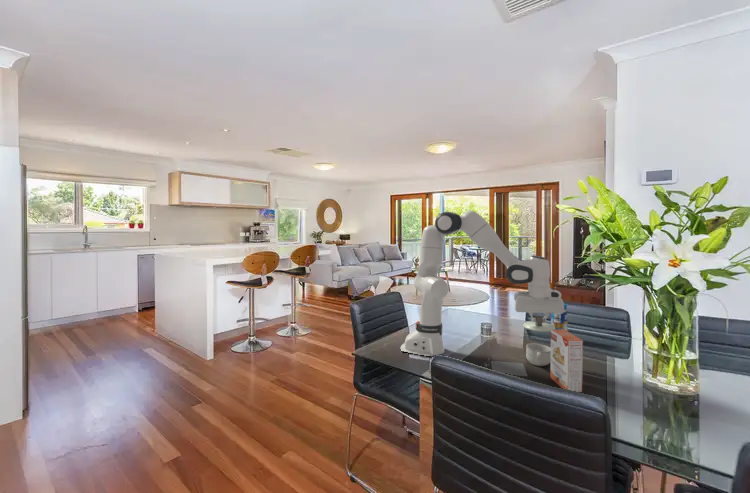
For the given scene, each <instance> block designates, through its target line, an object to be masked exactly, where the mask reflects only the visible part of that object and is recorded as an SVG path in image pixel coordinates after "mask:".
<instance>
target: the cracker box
mask: <svg viewBox="0 0 750 493" xmlns="http://www.w3.org/2000/svg"><path fill="white" fill-rule="evenodd" d="M550 348H551V361H550V368H549V369H550V378H551V380H553V382H555V383H556V384H557V385H558V386H559V387H560V388H561V389H562V388H563V389H567V390H571V391H576V392H582V393H583V364H584V362H583V361H584V356H583V354H584V352H583V351H584V340H583V339H581V338H580V337H578V336H576V335H574V334H573V333H571V332H570V331H566V330H565V329H552V330H551V331H550ZM563 389H562V390H563Z"/></svg>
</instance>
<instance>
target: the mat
mask: <svg viewBox="0 0 750 493" xmlns="http://www.w3.org/2000/svg"><path fill="white" fill-rule="evenodd" d="M490 363H491V364H490V365H491V371H492V370H496V371H500V372H503V373H507V374H510V376H520V377H528V373H527V370H526V368H525V365H524V363H521V362H512V361H511V362H508V361H499V360H498V361H497V360H490ZM507 374H506V375H507Z"/></svg>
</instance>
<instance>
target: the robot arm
mask: <svg viewBox="0 0 750 493" xmlns="http://www.w3.org/2000/svg"><path fill="white" fill-rule="evenodd" d="M460 231H461V232H463V233H464V234H465V235H466V236H467V237H468V238H469V239H470V240H471V241H472V242H473V244H475V245H476V246H477V247H479V248H480V249H482V250H486V251H489V252H491V253H492V254H494V255H495V256H496V257H497V259H498V260H500V261H501V263H503V265H504V266H505V268H506V272H505V276H506V279H507V281H509V282H510V283H511V284H513V285H522V284H527V290H528V291H517V292H515V293H514V294H513V295H514V296H513V299H514V311H515V312H516V313H528V315H529V316H530V317H531V322H536V318H535V317H533V315H534V314H536V313H537V314H544V316H543V317H542V323H547V319H548V317H549V316H550V314H552V313H555V314H563V313H564V300H563V299H562V293H561V292H560V291H559V290H558V289H557V290H556V289H553V288H551V284H550V277H551V268H550V261H549V260H548V259H547V258H546V257H544V256H540V255H530V256H528V258H525V259H520V258H518V257H517V256H515V254H514V253H513V252H512V251H511V250H510V249H509V248H508V247H506V246H505V244H504V243H503V242H502V240H501V239H500V237H499V236H498V234H497V232H496V231H495V229H494V228H493V227H492V225H491V224H490V223H489V222H488V221H487V220H486V219H485V218H484V217H482V216H481V215H480V214H479V213H477V211H474V210H467V211H465V212H464V213H463V214H461V215H459V214H457V213H456V212H453V211H443V212H441V213H439V214H438V215H437V217H436V218H435V222H434V224H433V225H427V226H425V227H424V229H423V230H422V234H421V239H420V240H421V241H420V254H419V256H420V257H419V259H420V260H419V265H418V269H417V274H416V276H415V278H414V280H413V285H414V288H415V289H416V291H417V292H418V293H420V294H421V295H423V296H422V298H423V299H422V302H421V305H420V306H419V320H417V321H416V322H415V329H414V330H413V331H411V332H410V333H408V334H407V335H406V337H405V340H404V342H403V343H402V344H401V346H400V349H401V351H404V352H408V353H413V354H412V355H414V354H418V355H417V356H420V355H424V356H423V357H426V356H431V357H433V356H439V355H443V354H444V353H445V347H444V341H443V331H444V330H443V323H442V310H443V304H444V300H445V298H446V296H447V295H448V293H449V284H448V283H447V281H445V279H443V278H442V277H441V276H438V273H439V270H440V268H441V266H442V265H443V251H444V239H445V237H447V236H451V235H454V234H457V233H458V232H460ZM401 351H400V352H401ZM408 353H407V354H408Z"/></svg>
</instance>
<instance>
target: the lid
mask: <svg viewBox="0 0 750 493" xmlns="http://www.w3.org/2000/svg"><path fill="white" fill-rule="evenodd" d="M534 318H536V322H532V321H525V322H524V323H522V324H523V325H522V327H523V328H525V329H526V330H529V331H534V332H541V333H542V332H543V333H544V332H545V333H546V332H551V330H552V329H555V326H554V325H552V324H551V323H549V322H546V323H542V318H543V315H541V314H536V315H535V317H534Z"/></svg>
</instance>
